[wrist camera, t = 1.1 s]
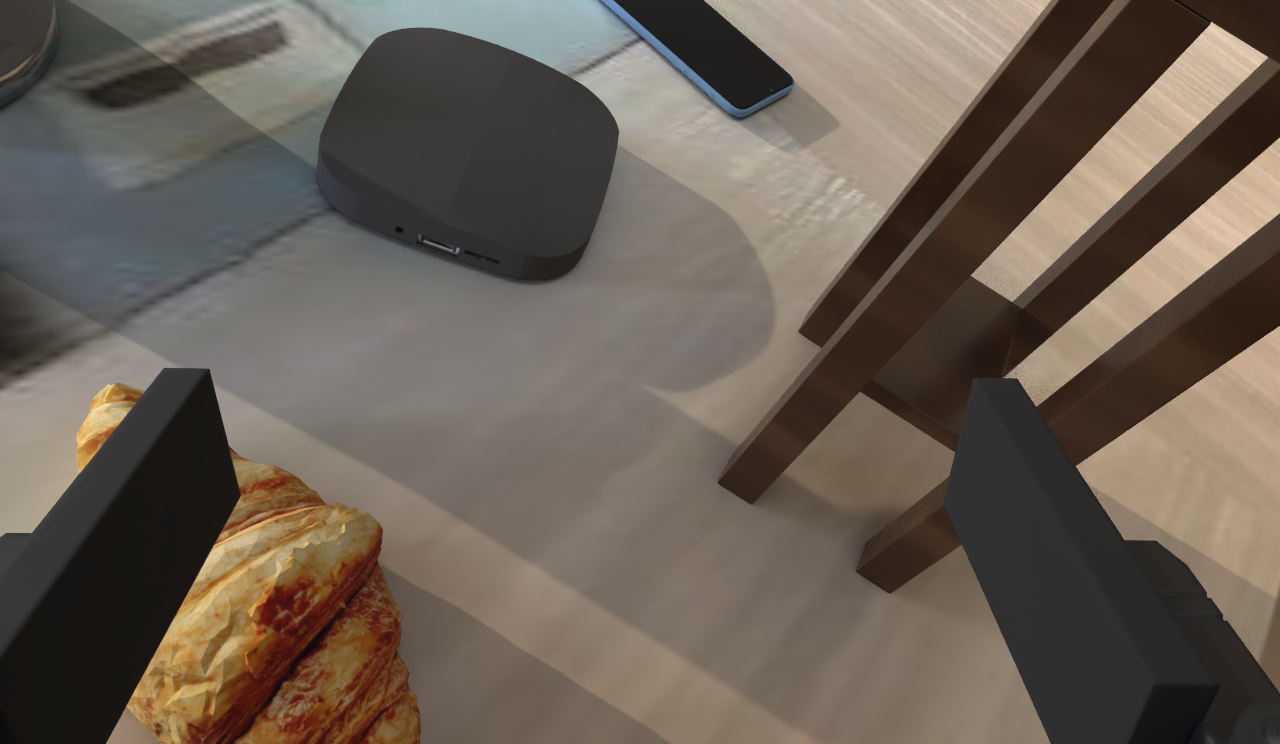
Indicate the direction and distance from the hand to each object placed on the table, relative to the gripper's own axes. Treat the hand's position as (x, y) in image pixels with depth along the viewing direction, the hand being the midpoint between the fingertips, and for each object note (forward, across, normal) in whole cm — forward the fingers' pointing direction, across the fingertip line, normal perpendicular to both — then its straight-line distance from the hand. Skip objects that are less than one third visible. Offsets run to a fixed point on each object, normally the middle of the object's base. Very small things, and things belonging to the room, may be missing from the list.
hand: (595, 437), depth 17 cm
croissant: (+12, -14, -18) cm, 25 cm away
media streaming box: (+38, -8, -8) cm, 39 cm away
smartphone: (+55, +5, -5) cm, 56 cm away
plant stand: (+28, +13, -20) cm, 36 cm away
